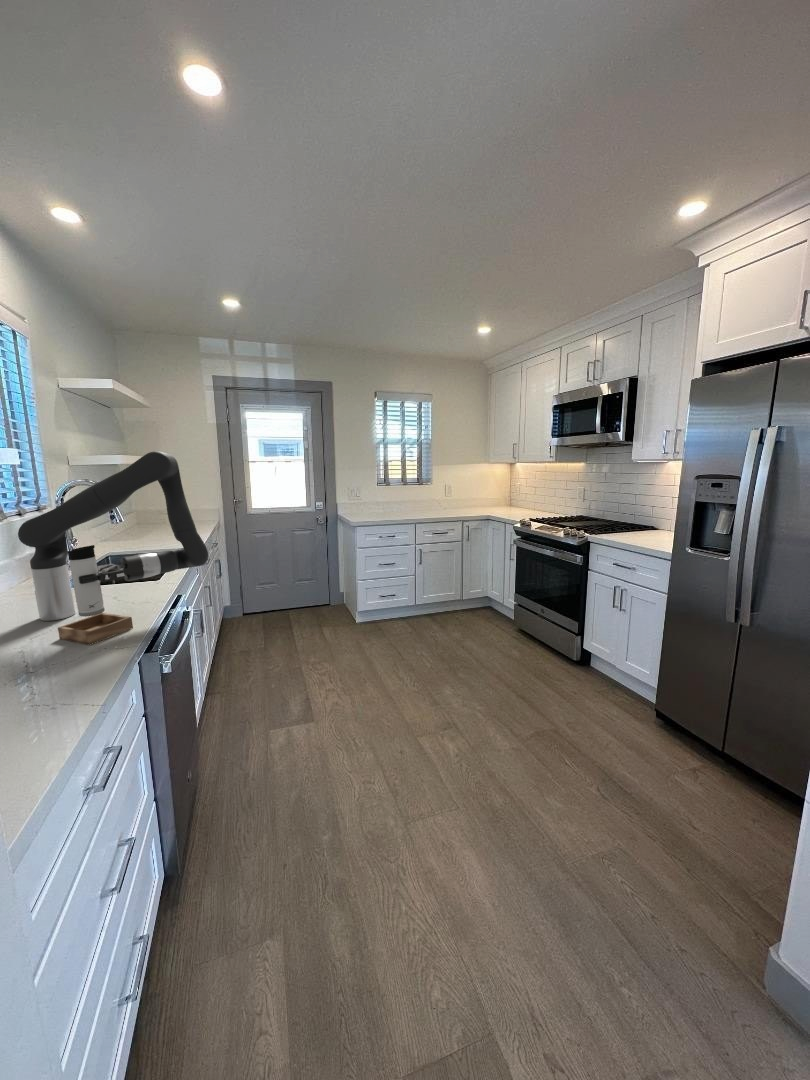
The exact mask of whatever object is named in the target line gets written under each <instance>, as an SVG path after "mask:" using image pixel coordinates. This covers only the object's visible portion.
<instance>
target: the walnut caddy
mask: <svg viewBox="0 0 810 1080" xmlns="http://www.w3.org/2000/svg"><path fill="white" fill-rule="evenodd" d="M131 628H132V629H133V628H134V625H133V618H132V616H126V615H121V614H120V615H119V614H115V613H107V612H102V613H100V614H97V615H93V616H87V617H84V618H82V619H79V620H76V621H73V622H71V623H67V624H65V625H62V626H58V627H57V631H58V637H59V640H63V641H69V642H73V643H78V642H79V644H83V643H84V645H88V644H89V645H90V644H91V645H93V644H95V642H96V643H98V642H101V641H103V639H104V640H106V639H109V638H111V637H114V636H116V635H119V634H122V633H124V632H126V631H129V630H132V629H131ZM118 633H119V634H118ZM113 635H114V636H113ZM108 637H109V638H108ZM100 640H101V641H100ZM97 641H98V642H97ZM92 643H93V644H92ZM89 645H88V646H89Z"/></svg>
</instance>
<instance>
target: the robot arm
mask: <svg viewBox="0 0 810 1080" xmlns="http://www.w3.org/2000/svg"><path fill="white" fill-rule="evenodd" d="M157 481H158V483H159V485H160V487H161V489H162V492H163V495H164V498H165V504H166V505H165V506H166V513H167V514H166V515H167V519H168V522H169V525H170V528H171V531H172V533H173V535H174V538H175V539H176V541H178V542H180V544H181V545H182V546H181V547H182V548H178V549H173V550H163V551H162V550H161V551H158V552H146V553H145V552H144V553H141V554H140V553H139V554H135V555H128V556H122V557H121V558H120V561H119V562H120V563H119V564H115V563H107V564H106V563H105V564H100V565H97V568H98V572H97V573H95V574H89V575H83V576H79V583H80V584H85V583H90V582H95V581H96V582H100V583H106V582H112V581H117V580H123V579H124V580H125V581H127V582H131V581H137V580H139V579H140V580H141V579H146V578H150V577H154V576H157V575H161V574H165V573H166V574H167V573H171V572H174V571H177V570H183V569H191V568H196V567H201V566H203V565H205V564H207V562H208V560H209V550H208V548H207V546H206V544H205V543H204V540H203V539H202V537H201V536H200V533H199V532H198V531H197V527H196V525H195V522H194V520H193V517H192V514H191V511H190V508H189V505H188V502H187V499H186V495H185V491H184V487H183V484H182V477H181V472H180V467H179V463H178V460H177V459H176V457H175V456H173V455H172V454H170V453H168V452H163V451H158V450H156V451H150V452H147V453H145V454H144V455H142V456H141V457H140V458H138V459H137V460H136V461H134V462H133V463H132V464H130V465H129V466H127V467H126V468H124V469H122V470H121V471H119V472H117V473H114V474H112V475H110V476H108V477H106V478H104V479H102V480H100V481H98V482H96V483H94V484H92V485H91V486H89V487H87V488H85V489H84V490H82V491H80V492H79V493H77V494H75V495H73V497H71V498H69V499H67V500H66V501H64V502H63V503H61V504H59V506H57V507H55V508H53V509H51V510H49V511H47V512H44V513H42V514H40V515H38V516H35V517H32V518H29V519H28V520H26V521H24V522H23V523H22V524H21V525H20V526H19V529H18V531H17V536H18V539H19V541H20V542H21V543H22V545H24V546H26V547H29V548H30V547H31V548H34V549H35V550H34V554H33V556H32V557H31V558H30V559H29V564H30V569H31V576H32V579H33V587H34V595H35V600H36V607H37V611H38V617H39V618H40V621H42V622H43V621H45V622H49V621H57V620H58V621H59V620H63V619H66V618H69V617H72V616H74V615H75V614H76V609H75V603H74V596H73V591H72V586H71V580H70V573H69V568H68V563H67V561H68V560H67V558H68V552H67V551H69V550H68V548H69V547H68V540H67V533H66V532H67V531H69V530H70V529H72V528H74V527H76V526H79V525H82V524H85V523H87V522H90V521H93V520H95V519H97V518H99V517H101V516H103V515H105V514H107V513H109V512H111V511H113V510H115V509H116V508H118V507H120V505H122V504H124V503H125V502H126V501H127V500H128V499H129V498H130V497H131V496H132V495H133V494H134V493H136V492H137V491H138V490H140V489H142V488H144V487H146V486H148V485H150V484H152V483H155V482H157Z"/></svg>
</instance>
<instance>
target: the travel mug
mask: <svg viewBox="0 0 810 1080" xmlns="http://www.w3.org/2000/svg"><path fill="white" fill-rule="evenodd" d="M95 547H96V546H95V545H94V544H92V545H87V546H82V547H76V548H73V549H71V550H68V551H67V552H68V555H67V557H68V564H69V570H70V574H71V580H72V585H73V591H74V595H75V602H76V607H77V612H78V616H80V617H84V618H87V617H91V616H94V615H97V614H100V613H105V605H104V598H103V592H102V587H101V581H100V582H96V581H95V582H90V583H85V584H80V583H79V576H83V575H89V574H95V573H97V572H98V568H97V566H98V564H97V558H96V554H95Z"/></svg>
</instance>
